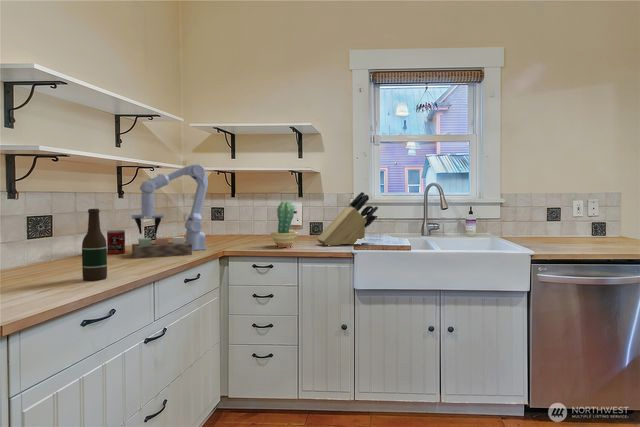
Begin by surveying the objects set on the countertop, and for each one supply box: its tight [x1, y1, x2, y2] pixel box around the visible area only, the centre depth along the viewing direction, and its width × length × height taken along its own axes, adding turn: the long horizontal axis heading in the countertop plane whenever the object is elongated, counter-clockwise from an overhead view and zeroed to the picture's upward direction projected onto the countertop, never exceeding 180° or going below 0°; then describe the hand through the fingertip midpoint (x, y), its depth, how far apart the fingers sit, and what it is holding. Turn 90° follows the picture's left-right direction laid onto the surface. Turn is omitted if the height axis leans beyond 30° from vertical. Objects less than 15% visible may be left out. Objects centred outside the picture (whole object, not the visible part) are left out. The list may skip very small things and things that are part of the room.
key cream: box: [171, 236, 186, 244], centre depth 200 cm, size 5×5×4 cm
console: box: [131, 240, 193, 259], centre depth 197 cm, size 25×13×5 cm, turn 118°
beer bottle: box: [81, 208, 108, 282], centre depth 141 cm, size 8×8×24 cm
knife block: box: [316, 191, 379, 246], centre depth 241 cm, size 11×35×31 cm, turn 112°
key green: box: [138, 237, 152, 246], centre depth 193 cm, size 5×5×4 cm
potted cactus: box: [270, 201, 299, 248], centre depth 228 cm, size 15×15×25 cm
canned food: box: [106, 229, 126, 255], centre depth 200 cm, size 8×8×11 cm
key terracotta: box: [155, 236, 169, 245], centre depth 197 cm, size 5×5×4 cm
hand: (148, 233), depth 203 cm, fingers open, 6 cm apart
